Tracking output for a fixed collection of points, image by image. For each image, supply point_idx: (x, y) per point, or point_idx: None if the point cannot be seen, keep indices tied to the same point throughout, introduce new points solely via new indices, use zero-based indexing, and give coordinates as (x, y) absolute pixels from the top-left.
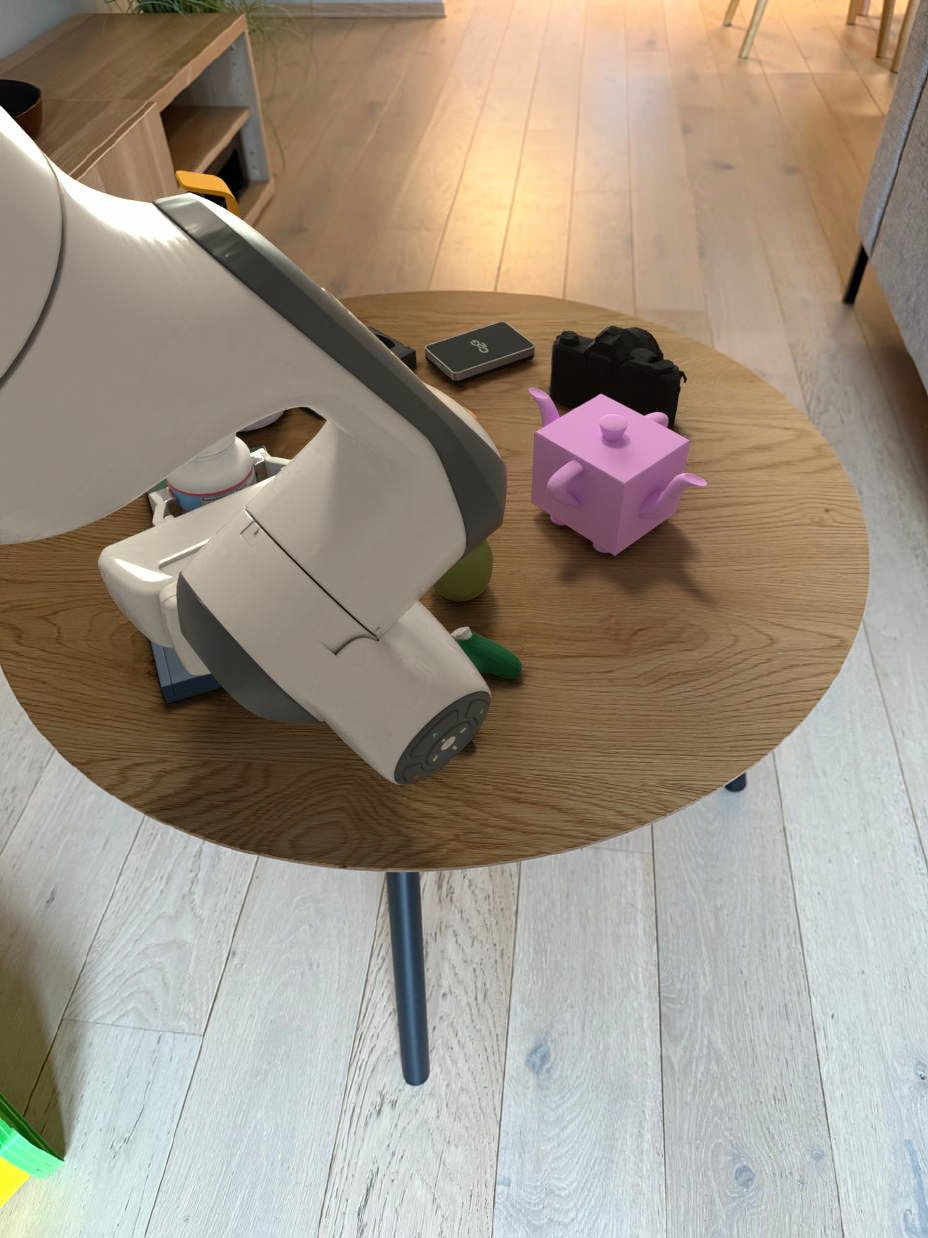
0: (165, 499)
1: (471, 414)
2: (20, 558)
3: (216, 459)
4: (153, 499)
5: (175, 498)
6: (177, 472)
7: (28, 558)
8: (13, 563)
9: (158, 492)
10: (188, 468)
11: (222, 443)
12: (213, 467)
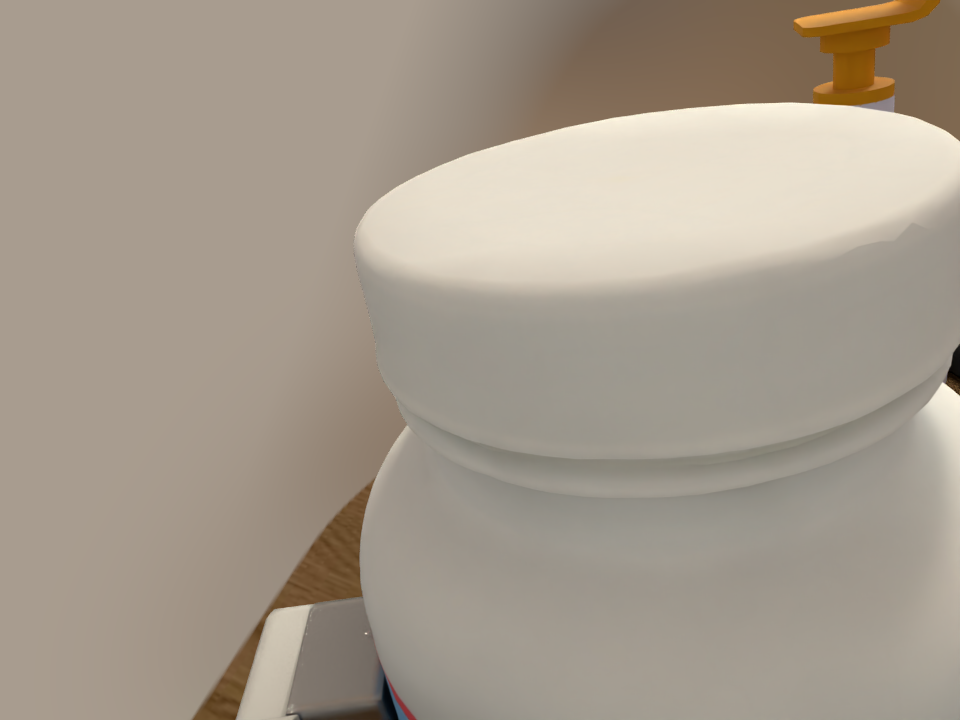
0: (308, 693)
1: None
2: (304, 580)
3: (718, 516)
4: (254, 663)
5: (371, 707)
6: (391, 538)
7: (316, 585)
8: (287, 587)
9: (316, 619)
10: (462, 532)
11: (824, 359)
12: (670, 586)
